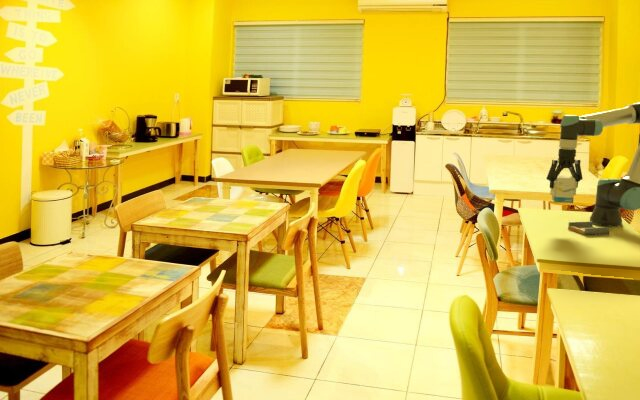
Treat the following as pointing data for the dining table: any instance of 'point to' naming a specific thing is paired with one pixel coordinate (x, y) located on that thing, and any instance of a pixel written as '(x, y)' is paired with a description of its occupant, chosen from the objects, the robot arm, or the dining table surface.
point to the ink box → (564, 189)
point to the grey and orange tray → (588, 228)
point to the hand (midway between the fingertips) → (562, 194)
